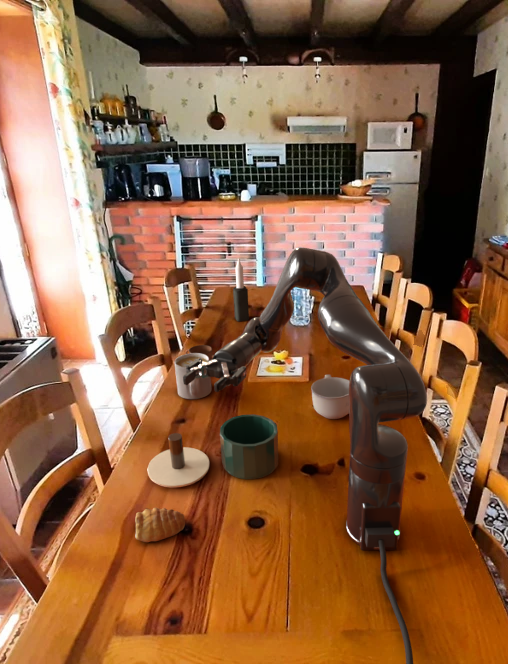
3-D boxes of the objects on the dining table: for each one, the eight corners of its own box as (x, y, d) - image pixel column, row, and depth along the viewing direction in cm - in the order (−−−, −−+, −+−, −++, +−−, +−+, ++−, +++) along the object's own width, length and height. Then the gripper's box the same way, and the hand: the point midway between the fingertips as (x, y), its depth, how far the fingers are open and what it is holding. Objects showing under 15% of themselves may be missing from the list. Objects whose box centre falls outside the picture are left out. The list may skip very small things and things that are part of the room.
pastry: (183, 512, 95) (181, 497, 94) (187, 538, 89) (185, 522, 88) (135, 521, 94) (132, 505, 92) (136, 547, 88) (133, 531, 86)
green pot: (280, 478, 103) (279, 445, 100) (221, 480, 104) (218, 447, 101) (276, 444, 115) (275, 413, 112) (223, 446, 115) (221, 415, 112)
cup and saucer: (178, 374, 153) (176, 356, 151) (190, 358, 164) (188, 341, 162) (214, 376, 150) (213, 358, 148) (224, 360, 161) (223, 342, 159)
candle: (234, 318, 199) (230, 257, 189) (245, 316, 200) (242, 256, 191) (237, 321, 194) (234, 260, 185) (249, 319, 196) (247, 258, 186)
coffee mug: (181, 382, 147) (178, 353, 143) (213, 383, 146) (211, 352, 142) (171, 405, 135) (167, 373, 131) (206, 405, 134) (203, 373, 130)
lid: (207, 488, 102) (204, 454, 98) (142, 490, 102) (137, 457, 99) (211, 450, 114) (208, 418, 111) (153, 452, 115) (149, 421, 112)
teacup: (354, 425, 120) (355, 397, 117) (310, 422, 123) (310, 395, 120) (352, 398, 133) (353, 371, 130) (312, 396, 135) (312, 370, 132)
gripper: (209, 339, 126) (173, 365, 113) (258, 348, 119) (225, 375, 106) (211, 365, 129) (176, 393, 116) (259, 375, 122) (227, 405, 109)
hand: (199, 384), depth 111 cm, fingers open, 8 cm apart
